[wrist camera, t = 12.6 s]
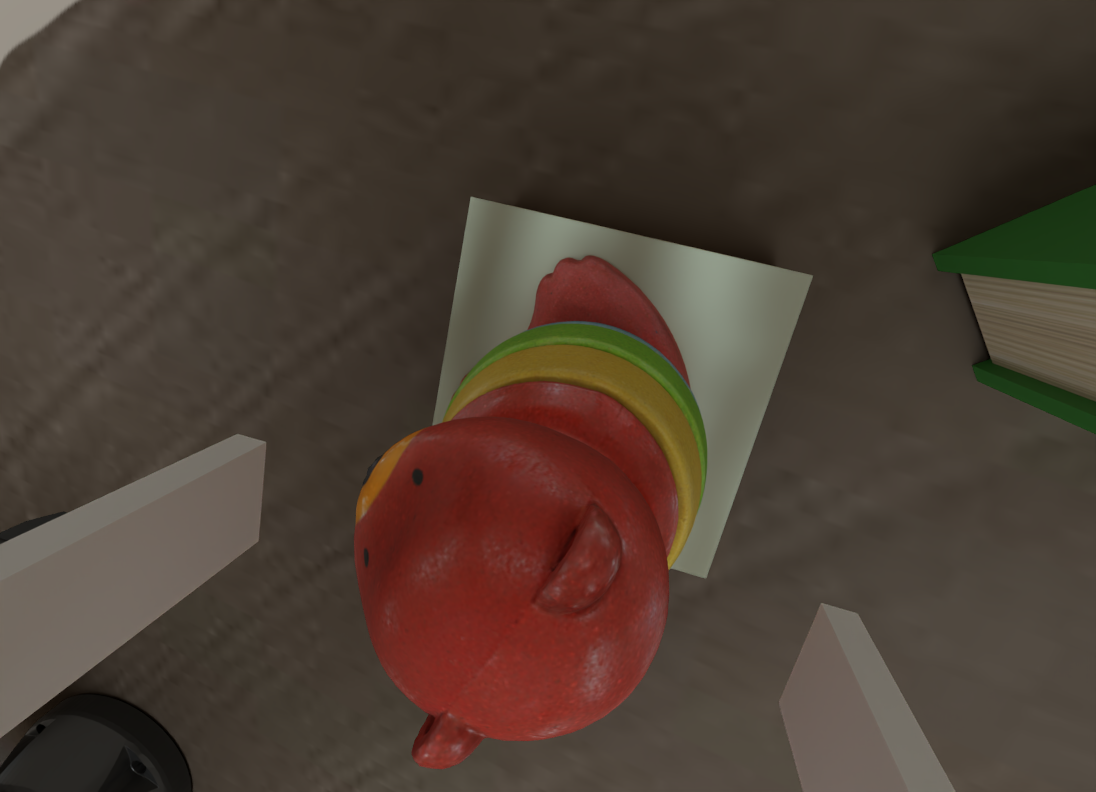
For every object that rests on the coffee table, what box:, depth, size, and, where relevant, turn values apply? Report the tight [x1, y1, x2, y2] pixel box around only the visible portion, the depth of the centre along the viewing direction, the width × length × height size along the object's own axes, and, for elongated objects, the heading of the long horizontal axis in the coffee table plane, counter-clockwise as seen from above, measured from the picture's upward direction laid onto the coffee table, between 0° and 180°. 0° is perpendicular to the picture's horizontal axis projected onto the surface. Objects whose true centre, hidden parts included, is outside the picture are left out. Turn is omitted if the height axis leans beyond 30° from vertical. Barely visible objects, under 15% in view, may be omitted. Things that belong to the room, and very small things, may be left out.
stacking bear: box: [354, 255, 707, 769], centre depth 19 cm, size 11×10×18 cm
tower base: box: [432, 197, 813, 578], centre depth 31 cm, size 15×15×8 cm
